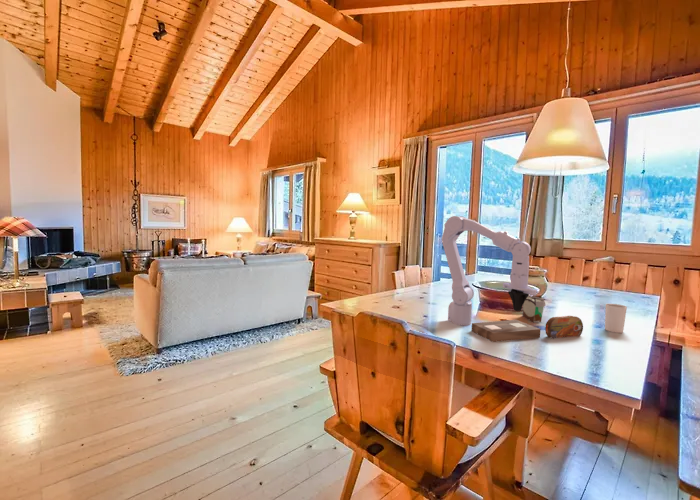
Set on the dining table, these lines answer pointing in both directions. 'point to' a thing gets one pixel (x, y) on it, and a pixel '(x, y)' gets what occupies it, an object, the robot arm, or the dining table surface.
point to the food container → (533, 308)
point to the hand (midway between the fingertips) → (517, 310)
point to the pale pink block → (492, 327)
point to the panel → (505, 331)
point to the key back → (517, 325)
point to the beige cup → (615, 317)
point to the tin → (564, 327)
